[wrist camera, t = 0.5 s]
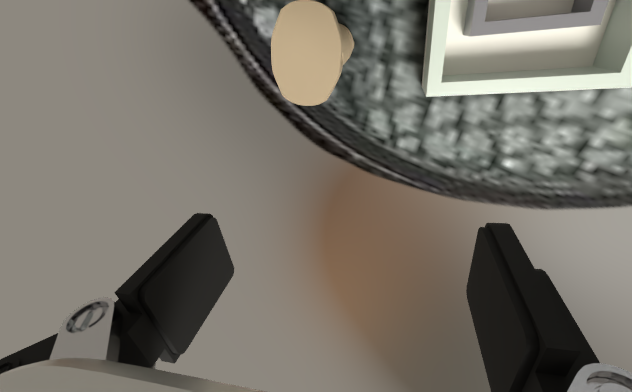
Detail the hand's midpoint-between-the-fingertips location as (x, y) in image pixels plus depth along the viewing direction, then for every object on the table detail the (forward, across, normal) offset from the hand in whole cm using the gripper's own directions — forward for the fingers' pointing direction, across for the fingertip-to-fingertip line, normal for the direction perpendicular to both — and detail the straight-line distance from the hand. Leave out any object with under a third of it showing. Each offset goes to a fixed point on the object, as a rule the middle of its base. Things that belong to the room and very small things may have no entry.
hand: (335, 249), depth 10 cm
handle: (+28, +4, -5) cm, 29 cm away
